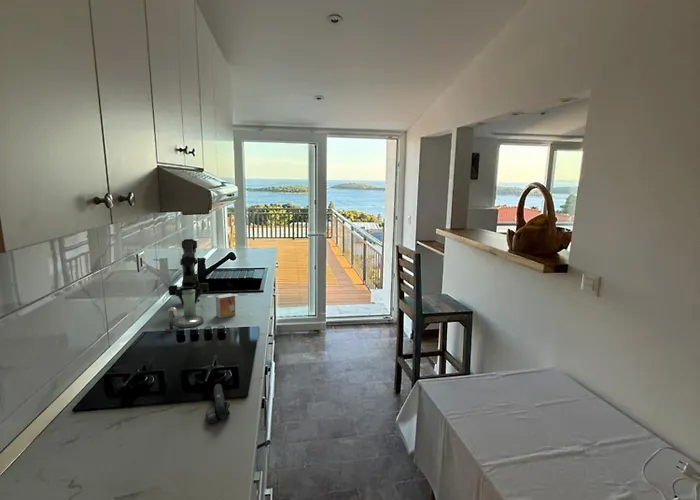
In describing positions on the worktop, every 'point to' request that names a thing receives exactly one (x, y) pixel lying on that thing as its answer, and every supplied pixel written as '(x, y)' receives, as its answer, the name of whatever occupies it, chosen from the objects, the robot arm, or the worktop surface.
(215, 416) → the can opener
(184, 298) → the canister
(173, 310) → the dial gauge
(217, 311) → the small box
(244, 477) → the worktop surface
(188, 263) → the robot arm
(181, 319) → the platter
